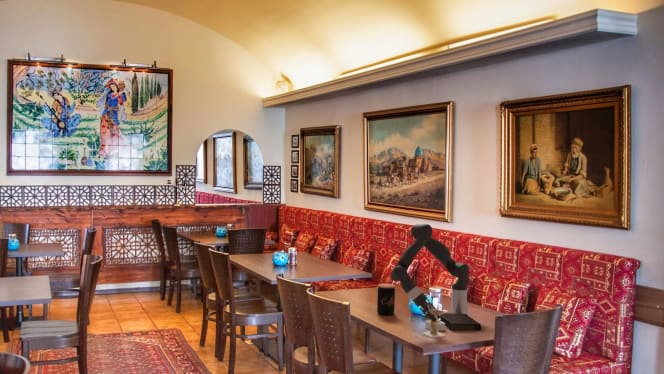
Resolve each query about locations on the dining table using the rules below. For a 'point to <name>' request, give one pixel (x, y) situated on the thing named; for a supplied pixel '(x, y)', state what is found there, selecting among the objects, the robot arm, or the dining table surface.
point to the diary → (459, 322)
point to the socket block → (439, 325)
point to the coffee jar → (386, 299)
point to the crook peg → (434, 324)
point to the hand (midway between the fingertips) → (437, 319)
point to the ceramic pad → (434, 334)
